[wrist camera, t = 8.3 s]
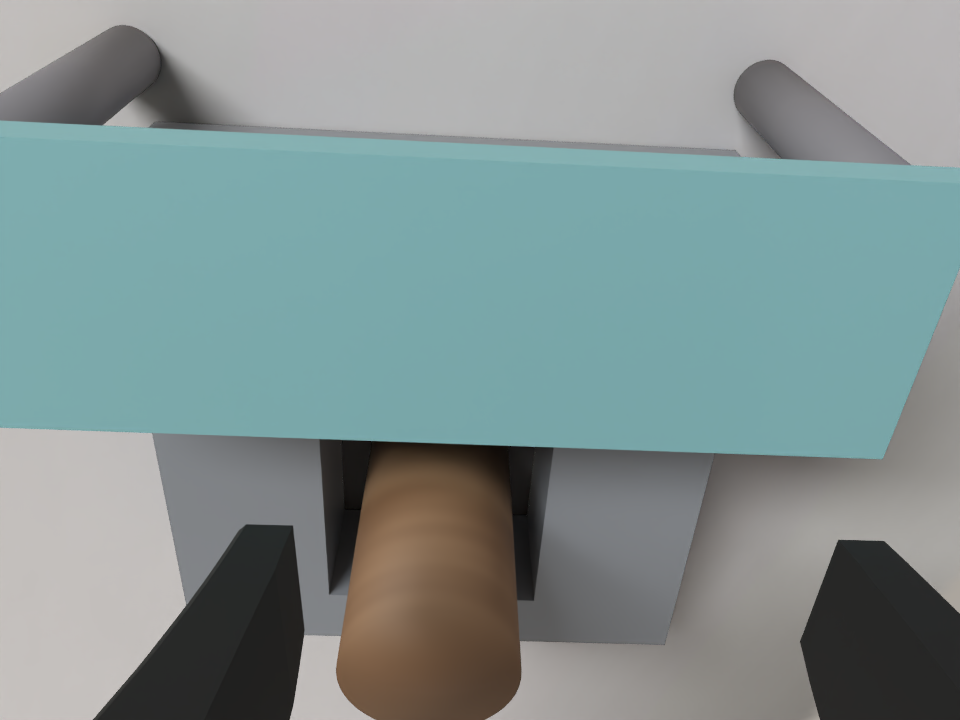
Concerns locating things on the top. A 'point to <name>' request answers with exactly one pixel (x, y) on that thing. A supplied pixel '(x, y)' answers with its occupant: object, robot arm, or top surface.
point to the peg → (432, 586)
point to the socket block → (537, 537)
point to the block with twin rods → (462, 279)
